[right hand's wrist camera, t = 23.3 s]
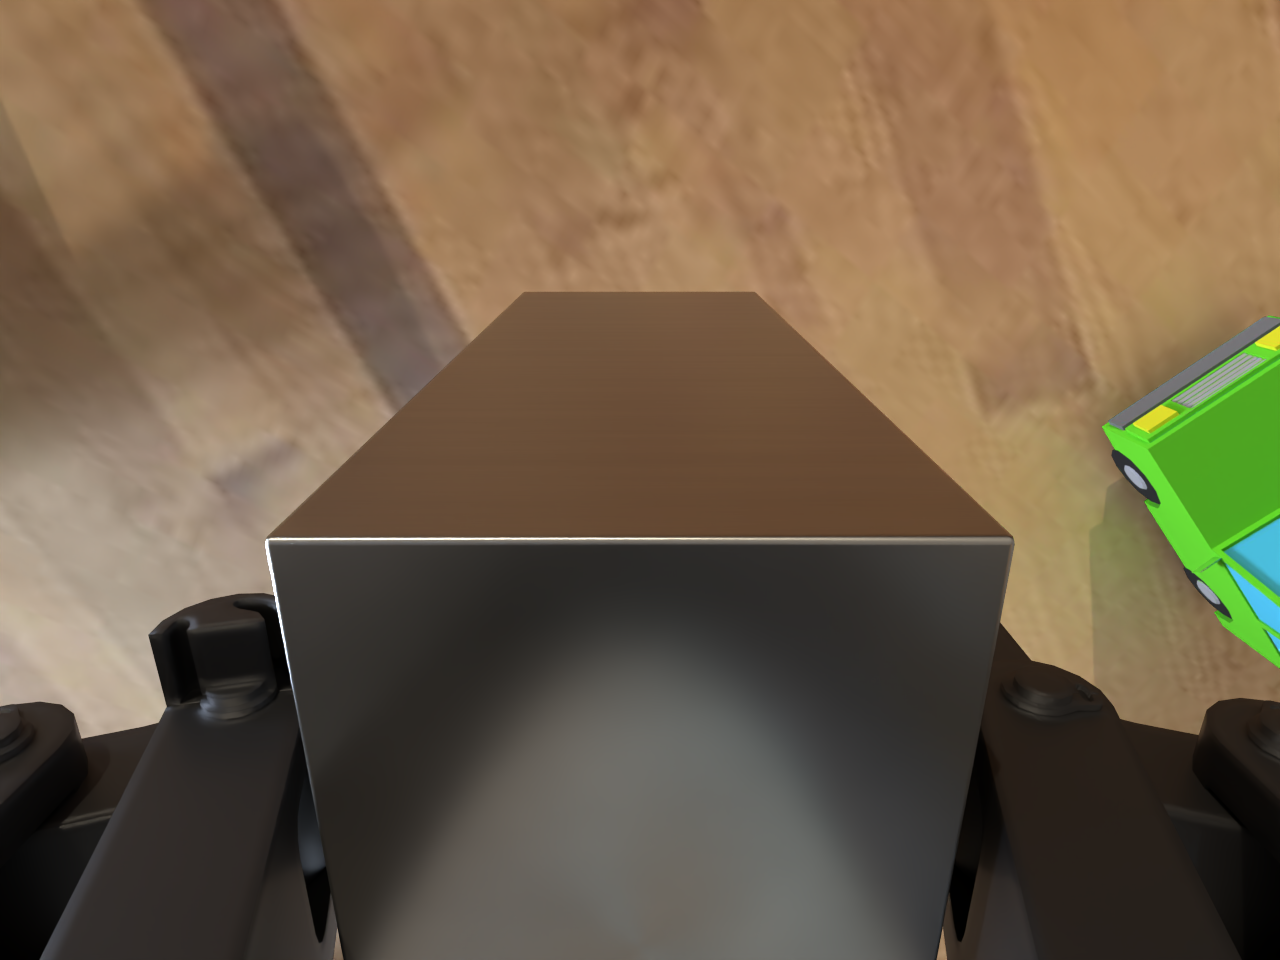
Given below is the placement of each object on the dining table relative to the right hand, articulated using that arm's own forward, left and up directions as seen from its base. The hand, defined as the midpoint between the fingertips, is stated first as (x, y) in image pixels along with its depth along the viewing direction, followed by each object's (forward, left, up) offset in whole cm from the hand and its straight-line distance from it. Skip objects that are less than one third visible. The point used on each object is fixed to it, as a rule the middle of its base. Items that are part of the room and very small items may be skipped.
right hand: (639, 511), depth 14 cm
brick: (0, 0, -3) cm, 3 cm away
